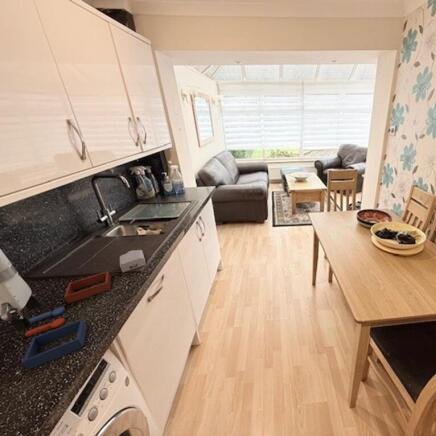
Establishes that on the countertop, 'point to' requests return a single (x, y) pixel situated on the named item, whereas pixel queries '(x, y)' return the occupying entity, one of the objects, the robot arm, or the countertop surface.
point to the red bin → (72, 296)
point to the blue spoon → (48, 314)
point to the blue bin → (36, 360)
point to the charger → (132, 260)
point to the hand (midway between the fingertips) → (30, 317)
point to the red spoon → (46, 327)
